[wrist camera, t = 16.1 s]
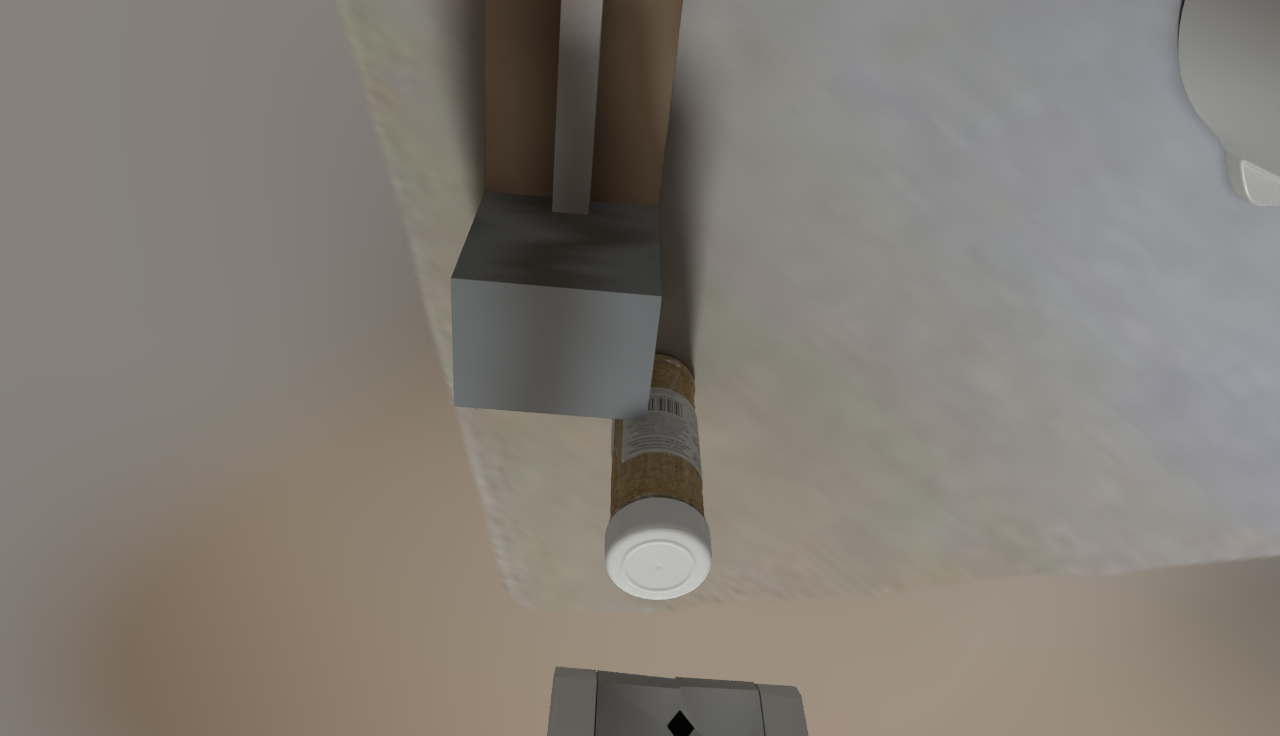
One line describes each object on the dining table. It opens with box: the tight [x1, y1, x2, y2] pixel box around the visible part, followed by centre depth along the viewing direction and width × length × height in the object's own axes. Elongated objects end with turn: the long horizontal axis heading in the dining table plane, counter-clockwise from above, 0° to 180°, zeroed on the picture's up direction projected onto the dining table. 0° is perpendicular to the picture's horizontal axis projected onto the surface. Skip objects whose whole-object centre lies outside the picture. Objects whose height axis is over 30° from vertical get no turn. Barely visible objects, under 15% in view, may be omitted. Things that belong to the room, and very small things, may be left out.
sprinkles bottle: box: [605, 354, 712, 600], centre depth 42 cm, size 5×5×13 cm
